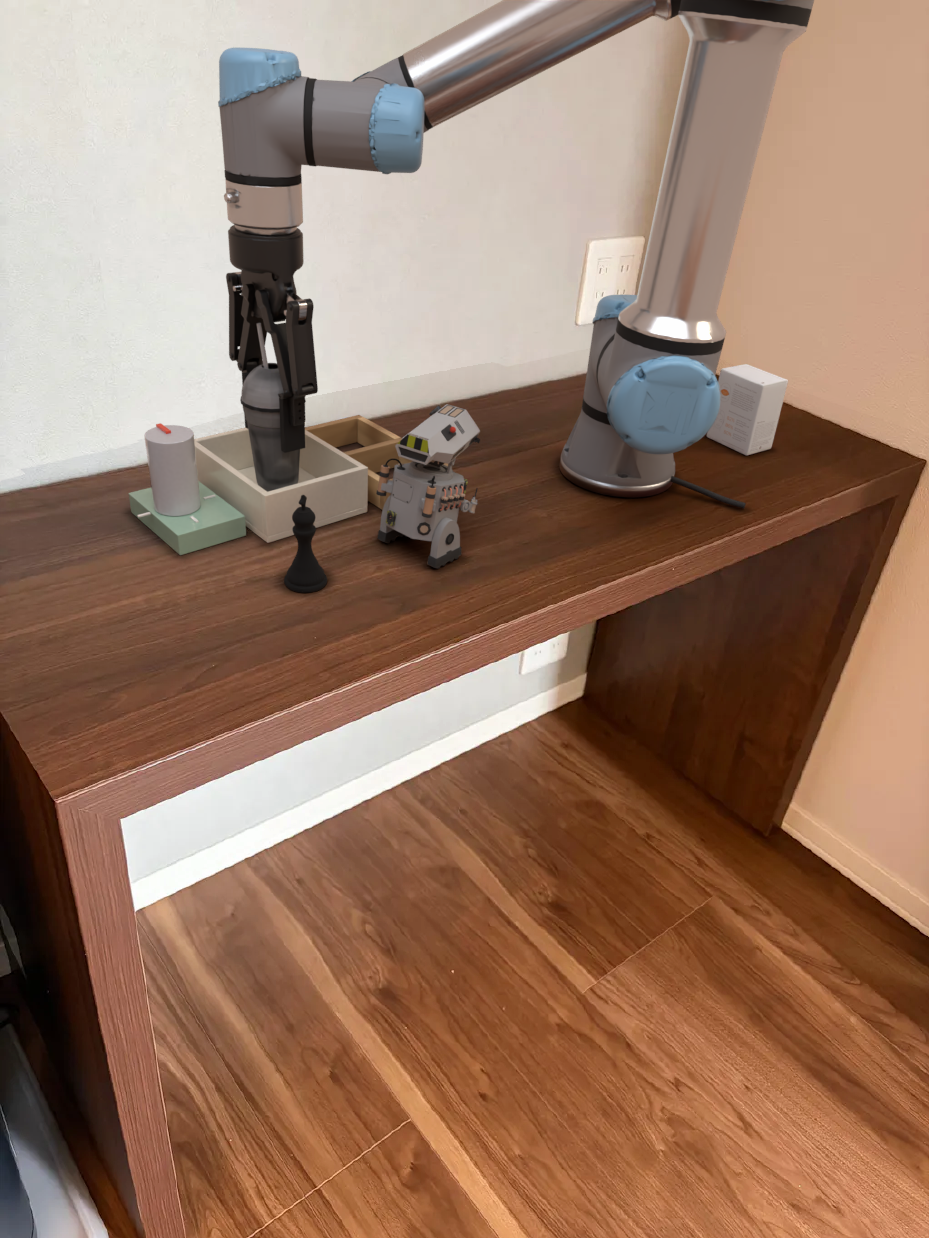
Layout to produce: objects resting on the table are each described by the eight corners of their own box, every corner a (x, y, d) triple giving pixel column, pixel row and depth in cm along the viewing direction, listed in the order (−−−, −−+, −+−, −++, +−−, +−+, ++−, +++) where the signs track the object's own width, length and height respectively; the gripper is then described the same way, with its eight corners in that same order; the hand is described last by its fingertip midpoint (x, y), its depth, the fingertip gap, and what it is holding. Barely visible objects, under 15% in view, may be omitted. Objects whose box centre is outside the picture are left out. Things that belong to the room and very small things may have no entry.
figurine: (494, 542, 105) (506, 417, 97) (425, 576, 98) (432, 445, 89) (435, 514, 110) (442, 393, 102) (366, 545, 102) (367, 417, 94)
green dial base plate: (246, 535, 102) (245, 514, 101) (166, 560, 97) (163, 538, 95) (195, 495, 110) (193, 475, 108) (117, 516, 104) (114, 494, 103)
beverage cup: (296, 510, 107) (289, 338, 96) (237, 500, 108) (223, 329, 97) (317, 484, 113) (312, 319, 102) (261, 475, 114) (250, 311, 102)
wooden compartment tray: (450, 490, 116) (451, 465, 114) (384, 511, 110) (385, 485, 108) (358, 438, 127) (359, 414, 125) (295, 454, 121) (294, 429, 119)
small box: (771, 450, 134) (790, 380, 128) (745, 456, 131) (764, 385, 126) (730, 430, 140) (746, 362, 134) (704, 436, 137) (720, 367, 131)
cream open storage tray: (367, 512, 109) (368, 467, 106) (267, 543, 101) (264, 496, 98) (287, 460, 120) (286, 418, 117) (191, 485, 112) (187, 440, 109)
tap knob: (209, 509, 102) (201, 434, 97) (166, 520, 99) (157, 444, 94) (187, 492, 105) (179, 418, 100) (146, 503, 102) (135, 428, 97)
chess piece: (278, 589, 94) (273, 501, 88) (292, 568, 97) (288, 482, 92) (319, 596, 93) (318, 507, 88) (332, 574, 97) (331, 488, 91)
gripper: (184, 209, 97) (202, 415, 110) (286, 251, 85) (294, 476, 98) (247, 205, 102) (258, 403, 114) (353, 244, 90) (351, 461, 102)
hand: (274, 437), depth 106 cm, fingers closed on beverage cup, 7 cm apart
